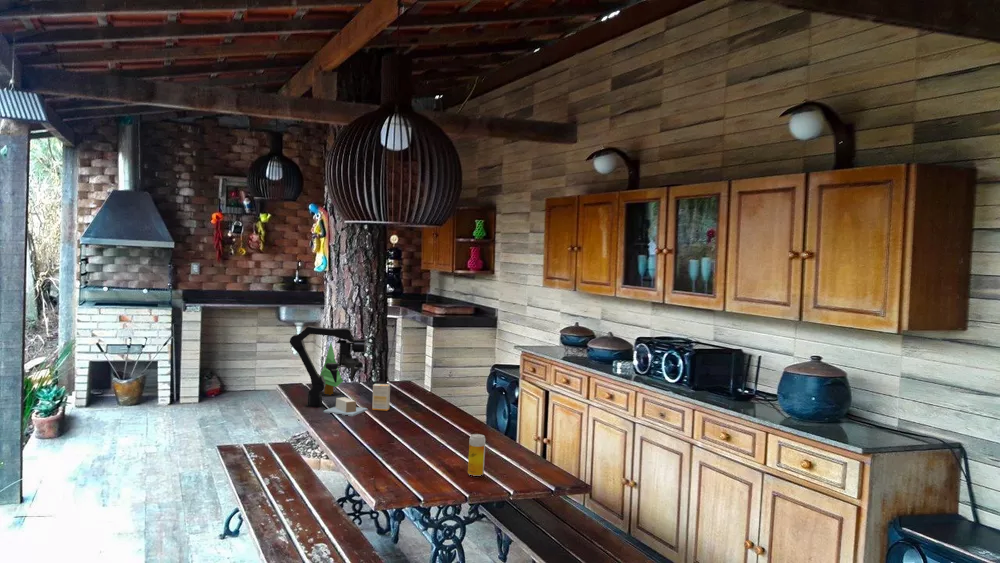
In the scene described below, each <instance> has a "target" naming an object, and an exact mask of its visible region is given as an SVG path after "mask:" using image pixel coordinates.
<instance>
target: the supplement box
mask: <svg viewBox="0 0 1000 563" xmlns="http://www.w3.org/2000/svg"><path fill="white" fill-rule="evenodd" d="M390 394H391V384H387V383H374V384H372V405H371V406H372V407H371V409H372V410H373V411H386V412H387V411H389V410H390V403H391V402H390V401H391V400H390V399H391V398H390V396H391V395H390Z"/></svg>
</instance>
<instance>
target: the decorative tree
mask: <svg viewBox="0 0 1000 563" xmlns="http://www.w3.org/2000/svg"><path fill="white" fill-rule="evenodd" d="M335 357H336V355H335V352H334V348H333V344H332V342H330V343H329V348H328V350H327V354H326V358H325V361H324V362H325V363H324V365H323V367H322V370H321V373H320V374H319V375H320V376H321V375H323V377H324V380H325V381H326V382H325V383H326V386H325V388H324V390H323V391H324V392H323V394H324V393H325V394H329V395H328V396H332V395H331V394H333V395H334V389H335V388H337V387H338V386H339V385H341V383H343V382H344V379H343V378H342V375H341V374H340V373H341V372H340V371H339V368H337V369H336V370H338V371H337V382H336V383H335V381H334V379H333V376H332V374H331V372H330V370H328V369H327V368H326V364H327V363H336V364H337V361H336V359H335ZM334 387H335V388H334Z"/></svg>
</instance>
